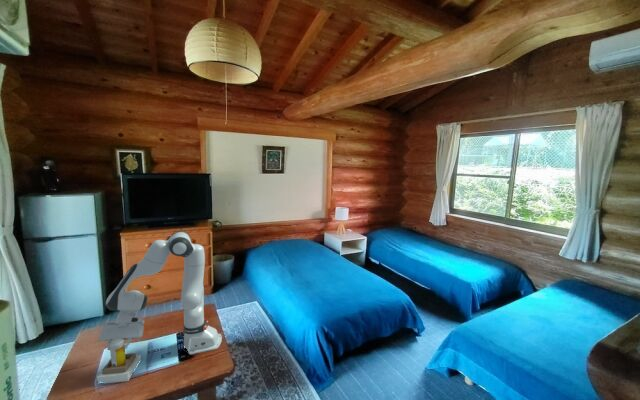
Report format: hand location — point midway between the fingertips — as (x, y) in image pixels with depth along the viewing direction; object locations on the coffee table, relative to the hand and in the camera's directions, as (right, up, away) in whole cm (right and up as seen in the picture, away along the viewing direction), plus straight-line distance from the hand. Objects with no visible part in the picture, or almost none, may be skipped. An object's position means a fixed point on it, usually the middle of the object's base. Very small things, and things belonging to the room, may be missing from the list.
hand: (117, 349), depth 143 cm
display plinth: (0, -14, +3) cm, 14 cm away
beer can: (0, -10, +2) cm, 10 cm away
